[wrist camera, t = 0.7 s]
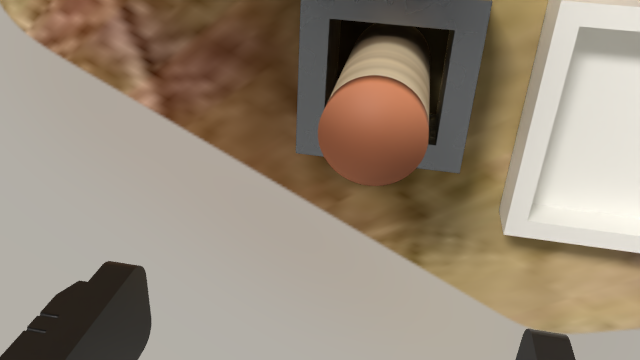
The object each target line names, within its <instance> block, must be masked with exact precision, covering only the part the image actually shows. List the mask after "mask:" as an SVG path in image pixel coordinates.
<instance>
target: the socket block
mask: <svg viewBox="0 0 640 360" xmlns="http://www.w3.org/2000/svg"><path fill="white" fill-rule="evenodd" d="M491 6H492V0H301V9H300V40H299V70H298V100H297V130H296V153H299V154H307V155H315V156H323V154H322V151H321V149H320V145H319V140H318V126H319V121H320V118H321V115H322V113H323V111H324V109H325V107H326V104H327V102H328V100H329V98H330V96H331V94H332V92H333V90H334V87H335V85H336V83H337V74H338V59H339V44H340V29H341V20H350V21H360V22H371V23H382V24H393V25H404V26H415V27H426V28H437V29H447V30H449V36H448V42H447V48H446V55H445V61H444V67H443V73H442V80H441V86H440V92H439V99H438V105H437V111H436V114H429V138H428V146H427V150H426V153H425V155H424V158H423V159H422V161H421V163H420V164H419V165H418V167H417V168H420V169H428V170H436V171H444V172H452V173H460V169H461V163H462V158H463V153H464V148H465V142H466V137H467V132H468V127H469V121H470V116H471V111H472V106H473V100H474V95H475V90H476V85H477V79H478V74H479V69H480V64H481V58H482V53H483V48H484V43H485V37H486V32H487V27H488V22H489V16H490V11H491Z"/></svg>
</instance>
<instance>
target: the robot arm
mask: <svg viewBox="0 0 640 360" xmlns="http://www.w3.org/2000/svg"><path fill="white" fill-rule="evenodd" d="M150 330H151V313H150V305H149V295H148V287H147V279H146V273H145V270H144V268H143V267H142V266H137V265H131V264H125V263H118V262H111V261H108V262H105V263H104V264H103V265H102V266H101V267H100V268H99V270H98V271H97V272H96V273H95V274H94V275H93V277H92V278H91V279H90V280H89V281H88V282H85V281H78V282H76V283H75V284H73V285H71V286H70V287H68V288H66V289H65V290H63V291H61V292H60V293H58V294H57V295H56V296H55V297H54V298H53V299H52V300H51V301H50V302H49V303H48V305H47V306H46V307H45V308H44V309H43V310H42V311H41V313H40V316H37V317H36V318H35V319H34V320H33V321H32V322H31V323H30V324H29V326H28V327H27V330H26V331H23V332H22V333H21V334H20V336H19V337H18V338H17V339H16V340H15V341H14V342H13V343H12V344H11V346H10V347H9V348H8V349H7V350H6V351H5V352H4V353H3V354H2V355H1V357H0V360H138V358H139V357H140V355H141V353H142V352H143V350H144V348H145V346H146V344H147V341H148V339H149V335H150ZM516 360H575V357H574V353H573V350H572V346H571V343H570V340H569V338H568V336H567V335H564V334H558V333H552V332H546V331H539V330H533V329H526V330H525V332H524V334H523V337H522V340H521V343H520V347H519V350H518V353H517V357H516Z"/></svg>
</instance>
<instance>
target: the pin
mask: <svg viewBox="0 0 640 360" xmlns="http://www.w3.org/2000/svg"><path fill="white" fill-rule="evenodd" d="M429 96H430V50H429V47H428V44H427V42H426V40H425V38H424V36H423V35H422V34H421V33H420V32H419V31H418V30H417V29H416V28H415V27H413V26H404V25H393V24H382V23H375V24H373V25H371V26H370V27H368V28H367V29H366V30H365V31H364V32H362V34H361V35H360V36H359V38H358V39H357V41H356V43H355V45H354V47H353V49H352V51H351V53H350V56H349V58H348V60H347V62H346V64H345V66H344V68H343V70H342V73H341V75H340V77H339V79H338V81H337V83H336V85H335V87H334V90H333V92H332V94H331V96H330V98H329V100H328V102H327V104H326V107H325V109H324V111H323V113H322V115H321V118H320V121H319V126H318V140H319V145H320V149H321V151H322V154H323V156H324V158H325V159H326V161H327V162H328V163H329V165H330V166H331V167H332V168H333V169H334V170H335V171H336V172H337V173H339V174H340V175H341V176H343V177H345V178H346V179H348V180H350V181H353V182H355V183H359V184H363V185H369V186H382V185H388V184H391V183H395V182H397V181H399V180H402V179H403V178H405V177H407V176H408V175H409V174H411V173H412V172H413V171H414V170H415V169H416V168H417V167H418V165H419V164H420V163H421V161H422V159H423V158H424V155H425V153H426V150H427V146H428V138H429Z"/></svg>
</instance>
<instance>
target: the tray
mask: <svg viewBox="0 0 640 360" xmlns="http://www.w3.org/2000/svg"><path fill="white" fill-rule="evenodd" d="M499 213H500V219H501V224H502V229H503V234H504V235H511V236H518V237H525V238H533V239H540V240H547V241H555V242H562V243H569V244H577V245H584V246H591V247H598V248H606V249H613V250H620V251H628V252H635V253H640V0H549V1H548V5H547V9H546V13H545V18H544V22H543V26H542V30H541V34H540V39H539V43H538V47H537V51H536V56H535V60H534V64H533V68H532V73H531V77H530V81H529V85H528V89H527V94H526V98H525V102H524V106H523V111H522V115H521V119H520V123H519V127H518V132H517V136H516V140H515V144H514V149H513V153H512V157H511V161H510V166H509V170H508V174H507V178H506V182H505V187H504V191H503V195H502V199H501V204H500V208H499Z"/></svg>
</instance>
